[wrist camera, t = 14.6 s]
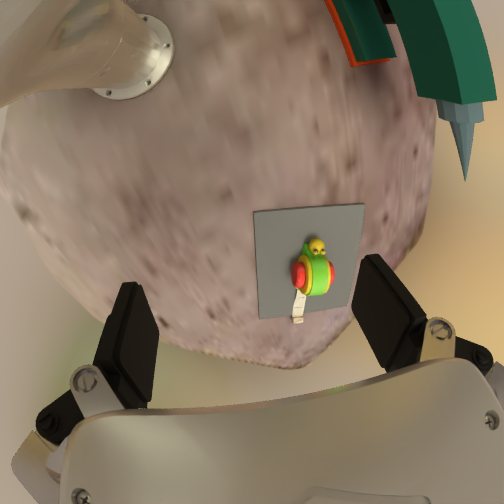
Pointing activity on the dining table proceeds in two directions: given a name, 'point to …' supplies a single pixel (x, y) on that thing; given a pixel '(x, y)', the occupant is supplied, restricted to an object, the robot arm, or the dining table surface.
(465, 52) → the power tool
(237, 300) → the dining table surface
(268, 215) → the mat
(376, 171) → the dining table surface
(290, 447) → the robot arm
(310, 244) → the toy measuring tape
